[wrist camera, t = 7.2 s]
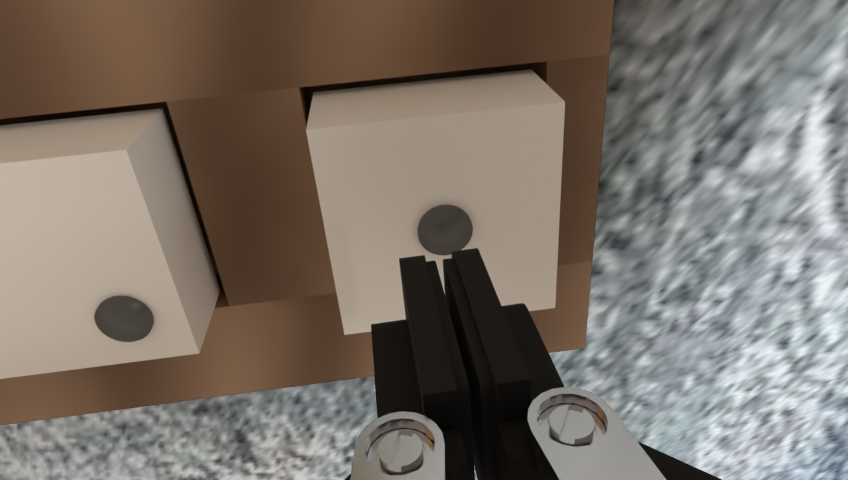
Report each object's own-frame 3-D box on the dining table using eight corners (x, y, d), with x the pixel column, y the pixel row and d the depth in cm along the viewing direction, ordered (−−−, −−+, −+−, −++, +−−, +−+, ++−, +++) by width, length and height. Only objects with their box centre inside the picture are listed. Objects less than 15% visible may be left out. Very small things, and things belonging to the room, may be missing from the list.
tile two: (163, 108, 16) (124, 152, 13) (220, 290, 19) (198, 357, 16) (-70, 132, 15) (-160, 183, 13) (27, 314, 18) (-29, 386, 16)
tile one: (530, 69, 16) (567, 103, 13) (527, 252, 19) (556, 310, 17) (313, 92, 16) (305, 132, 13) (345, 275, 19) (344, 338, 16)
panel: (580, -105, 16) (622, -105, 14) (559, 298, 24) (584, 347, 21) (-581, 0, 15) (-776, 22, 12) (-226, 398, 22) (-302, 465, 19)
